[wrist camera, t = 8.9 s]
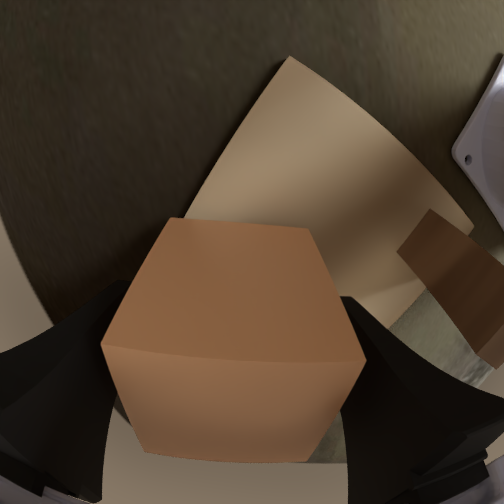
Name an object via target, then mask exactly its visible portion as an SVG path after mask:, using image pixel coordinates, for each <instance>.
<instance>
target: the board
mask: <svg viewBox="0 0 504 504" xmlns="http://www.w3.org/2000/svg"><path fill="white" fill-rule="evenodd" d="M429 209H432V210H433V211H434V212H436V213H437V214H439V215H440V216H441V217H443V218H444V219H446V220H447V221H448V222H450V223H451V224H452V225H454V226H455V227H457V228H458V229H459V230H460V231H462V232H463V233H464V234H466V235H467V236H468V235H469V234H470V232H471V231H472V229H473V228H474V227H475V226H474V225H473V223H472V222H471V221H470V219H469V218H468V217H467V215H466V214H465V213H464V212H463V210H462V209H461V208H460V207H459V205H458V204H457V203H456V202H455V201H454V199H453V198H452V197H451V196H450V195H449V193H448V192H447V191H446V190H445V189H444V188H443V186H442V185H441V184H440V183H439V182H438V181H437V180H436V179H435V177H434V176H433V175H432V174H431V173H430V172H429V171H428V170H427V169H426V168H425V167H424V166H423V165H422V164H421V162H420V161H419V160H418V159H417V158H416V157H415V156H414V155H413V154H412V153H411V152H410V151H409V150H408V149H407V148H406V147H405V146H404V145H403V144H402V143H400V142H399V141H398V140H397V139H396V138H395V137H394V136H393V135H392V134H391V133H390V132H389V131H388V130H387V129H385V128H384V127H383V126H382V125H381V124H380V123H379V122H378V121H376V120H375V119H374V118H373V117H372V116H371V115H369V114H368V113H367V112H366V111H365V110H363V109H362V108H361V107H360V106H359V105H357V104H356V103H355V102H354V101H352V100H351V99H350V98H349V97H347V96H346V95H345V94H344V93H342V92H341V91H340V90H338V89H337V88H336V87H334V86H333V85H332V84H330V83H329V82H328V81H326V80H325V79H323V78H322V77H321V76H319V75H318V74H316V73H315V72H313V71H312V70H310V69H309V68H308V67H306V66H305V65H303V64H302V63H300V62H298V61H297V60H295V59H294V58H292V57H291V56H289V57H288V58H287V59H286V60H285V62H284V63H283V65H282V66H281V67H280V69H279V70H278V71H277V73H276V74H275V75H274V77H273V78H272V80H271V81H270V82H269V84H268V85H267V87H266V88H265V90H264V91H263V92H262V94H261V95H260V97H259V98H258V100H257V101H256V102H255V104H254V105H253V107H252V108H251V110H250V111H249V113H248V114H247V116H246V117H245V119H244V120H243V122H242V123H241V125H240V126H239V128H238V129H237V131H236V132H235V134H234V136H233V137H232V139H231V140H230V142H229V143H228V145H227V146H226V148H225V150H224V151H223V153H222V154H221V156H220V158H219V159H218V161H217V162H216V164H215V166H214V167H213V169H212V171H211V172H210V174H209V175H208V177H207V179H206V180H205V182H204V184H203V185H202V187H201V189H200V191H199V192H198V194H197V196H196V197H195V199H194V201H193V203H192V204H191V206H190V208H189V210H188V211H187V213H186V215H185V217H184V218H185V219H200V220H214V221H227V222H240V223H252V224H264V225H275V226H287V227H298V228H308V229H309V231H310V233H311V235H312V238H313V240H314V242H315V244H316V246H317V248H318V250H319V252H320V254H321V257H322V259H323V261H324V263H325V265H326V267H327V269H328V272H329V274H330V276H331V278H332V280H333V283H334V285H335V287H336V289H337V292H338V294H339V296H351V297H353V298H354V299H355V300H356V301H357V302H358V303H360V304H361V305H362V306H363V307H364V308H365V309H366V310H367V311H368V312H369V313H370V314H372V315H373V316H374V317H375V318H376V319H377V320H378V321H379V322H380V323H381V324H382V325H383V326H384V327H386V328H387V329H388V328H389V327H390V326H391V325H392V324H393V323H394V322H395V321H396V320H397V319H398V318H399V317H400V316H401V315H402V314H403V313H404V312H405V311H406V310H407V309H408V308H409V307H410V305H411V304H412V303H413V302H414V301H415V300H416V299H417V298H418V297H419V296H420V294H421V293H422V292H423V291H424V290H425V289H426V286H425V285H424V284H423V283H422V281H421V280H420V279H419V278H418V277H417V275H416V274H415V273H414V272H413V271H412V269H411V268H410V267H409V266H408V265H407V264H406V262H405V261H404V260H403V259H402V258H401V257H400V256H399V254H398V253H397V252H396V251H397V250H398V249H399V248H400V246H401V245H402V244H403V243H404V241H405V240H406V239H407V238H408V236H409V235H410V234H411V233H412V231H413V230H414V229H415V227H416V226H417V225H418V223H419V222H420V221H421V219H422V218H423V217H424V215H425V214H426V213H427V211H428V210H429Z"/></svg>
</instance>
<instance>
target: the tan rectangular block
mask: <svg viewBox="0 0 504 504" xmlns="http://www.w3.org/2000/svg"><path fill="white" fill-rule="evenodd" d="M101 347H102V350H103V353H104V356H105V359H106V362H107V365H108V367H109V370H110V373H111V376H112V379H113V381H114V384H115V387H116V389H117V392H118V394H119V397H120V399H121V402H122V404H123V406H124V409H125V411H126V413H127V416H128V418H129V420H130V423H131V425H132V427H133V429H134V431H135V433H136V436H137V438H138V440H139V442H140V444H141V446H142V448H143V450H144V452H147V453H153V454H159V455H165V456H171V457H179V458H186V459H195V460H206V461H218V462H219V461H220V462H239V463H283V462H302V461H307V460H308V458H309V457H310V456H311V454H312V453H313V451H314V450H315V448H316V447H317V445H318V444H319V442H320V441H321V439H322V438H323V436H324V435H325V433H326V431H327V430H328V428H329V427H330V425H331V424H332V422H333V420H334V419H335V417H336V415H337V414H338V412H339V410H340V409H341V407H342V405H343V403H344V402H345V400H346V398H347V396H348V395H349V393H350V391H351V389H352V387H353V386H354V384H355V382H356V380H357V378H358V376H359V374H360V373H361V371H362V369H363V367H364V365H365V363H366V358H365V356H364V353H363V351H362V348H361V346H360V343H359V341H358V338H357V336H356V334H355V331H354V329H353V326H352V324H351V322H350V319H349V317H348V315H347V312H346V310H345V308H344V305H343V303H342V301H341V298H340V296H339V294H338V292H337V289H336V287H335V285H334V283H333V280H332V278H331V276H330V274H329V272H328V269H327V267H326V265H325V263H324V261H323V259H322V257H321V254H320V252H319V250H318V248H317V246H316V244H315V242H314V240H313V238H312V235H311V233H310V231H309V229H308V228H298V227H287V226H275V225H264V224H252V223H240V222H227V221H214V220H200V219H185V218H170V219H169V220H168V222H167V224H166V225H165V227H164V228H163V230H162V232H161V233H160V235H159V237H158V238H157V240H156V242H155V243H154V245H153V247H152V248H151V250H150V252H149V254H148V255H147V257H146V259H145V261H144V262H143V264H142V266H141V268H140V269H139V271H138V273H137V275H136V276H135V278H134V280H133V282H132V284H131V286H130V287H129V289H128V291H127V293H126V295H125V297H124V298H123V300H122V302H121V304H120V306H119V308H118V310H117V312H116V314H115V316H114V318H113V320H112V322H111V324H110V326H109V328H108V330H107V332H106V334H105V336H104V338H103V340H102V342H101Z"/></svg>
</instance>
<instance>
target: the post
mask: <svg viewBox="0 0 504 504" xmlns="http://www.w3.org/2000/svg"><path fill="white" fill-rule="evenodd" d="M396 252H397V253H398V254H399V256H400V257H401V258H402V259H403V260H404V261H405V262H406V264H407V265H408V266H409V267H410V268H411V269H412V271H413V272H414V273H415V274H416V275H417V277H418V278H419V279H420V280H421V281H422V283H423V284H424V285H425V286H426V288H427V289H428V290H429V291H430V293H431V294H432V295H433V296H434V298H435V299H436V300H437V301H438V303H439V304H440V305H441V307H442V308H443V309H444V310H445V312H446V313H447V314H448V316H449V317H450V318H451V320H452V321H453V322H454V324H455V325H456V326H457V328H458V329H459V331H460V332H461V333H462V335H463V336H464V338H465V339H466V340H467V342H468V343H469V345H470V346H471V348H472V349H473V351H474V352H475V354H476V355H478V356H479V357H480V358H482V359H483V360H484V361H486V362H487V363H488V364H490V365H491V366H492V367H494V368H495V369H497V368H499V367H500V366H501V365H502V364H503V362H504V266H503V265H502V264H501V263H500V262H499V261H498V260H496V259H495V258H494V257H493V256H492V255H491V254H489V253H488V252H487V251H486V250H485V249H483V248H482V247H481V246H480V245H478V244H477V243H476V242H475V241H473V240H472V239H471V238H470V237H468V236H467V235H466V234H464V233H463V232H462V231H460V230H459V229H458V228H457V227H455V226H454V225H452V224H451V223H450V222H448V221H447V220H446V219H444V218H443V217H441V216H440V215H439V214H437V213H436V212H434V211H433V210H432V209H429V210H428V211H427V213H426V214H425V215H424V217H423V218H422V219H421V221H420V222H419V223H418V225H417V226H416V227H415V229H414V230H413V231H412V233H411V234H410V235H409V236H408V238H407V239H406V240H405V241H404V243H403V244H402V245H401V246H400V248H399V249H398V250H397V251H396Z"/></svg>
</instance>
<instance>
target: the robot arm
mask: <svg viewBox="0 0 504 504" xmlns="http://www.w3.org/2000/svg"><path fill="white" fill-rule="evenodd" d="M466 156H467V161H466V163H465V157H466ZM452 157H453V159H454V160H455V161H456V163H457V164H458V165H459V166H460V168H461V169H462V170H463V172H464V173H465V174H466V176H467V177H468V178H469V180H470V181H471V182H472V184H473V185H474V186H475V188H476V189H477V191H478V192H479V193H480V195H481V196H482V198H483V199H484V201H485V202H486V204H487V205H488V207H489V208H490V210H491V211H492V213H493V214H494V216H495V218H496V219H497V221H498V222H499V224H500V226H501V227H502V229H503V231H504V55H503V57H502V59H501V61H500V63H499V66H498V68H497V70H496V71H495V73H494V75H493V77H492V79H491V81H490V83H489V85H488V87H487V89H486V91H485V92H484V94H483V96H482V98H481V100H480V101H479V103H478V105H477V107H476V108H475V110H474V112H473V114H472V115H471V117H470V119H469V120H468V122H467V124H466V125H465V127H464V129H463V130H462V132H461V133H460V135H459V137H458V138H457V140H456V141H455V143H454V144H453V147H452ZM131 284H132V281H122V280H117V281H116V282H114V283H113V284H111V285H110V286H108V287H107V288H106V289H104V290H103V291H102V292H100V293H99V294H98V295H96V296H95V297H94V298H92V299H91V300H90V301H88V302H87V303H86V304H84V305H83V306H82V307H80V308H79V309H78V310H76V311H75V312H73V313H72V314H71V315H69V316H68V317H66V318H65V319H63V320H62V321H61V322H59V323H58V324H56V325H55V326H53V327H51V328H50V329H48V330H46V331H45V332H43V333H41V334H40V335H38V336H36V337H34V338H33V339H30V340H29V341H26V342H24V343H22V344H20V345H18V346H16V347H14V348H12V349H10V350H7V351H5V352H2V353H0V504H90V503H97V502H99V501H100V500H102V476H103V464H104V454H105V447H106V440H107V434H108V428H109V423H110V418H111V414H112V409H113V405H114V402H115V398H116V395H117V393H118V392H117V389H116V387H115V384H114V381H113V379H112V376H111V373H110V370H109V367H108V365H107V362H106V359H105V356H104V353H103V350H102V347H101V342H102V340H103V338H104V336H105V334H106V332H107V330H108V328H109V326H110V324H111V322H112V320H113V318H114V316H115V314H116V312H117V310H118V308H119V306H120V304H121V302H122V300H123V298H124V297H125V295H126V293H127V291H128V289H129V287H130V286H131ZM340 298H341V301H342V303H343V305H344V308H345V310H346V312H347V315H348V317H349V319H350V322H351V324H352V326H353V329H354V331H355V334H356V336H357V338H358V341H359V343H360V346H361V348H362V351H363V353H364V356H365V358H366V363H365V365H364V367H363V369H362V371H361V373H360V374H359V376H358V378H357V380H356V382H355V384H354V386H353V387H352V389H351V391H350V393H349V395H348V396H347V398H346V400H345V402H344V403H343V405H342V407H341V409H340V412H341V417H342V422H343V429H344V436H345V444H346V454H347V465H348V466H347V468H348V504H504V455H502V456H501V457H499V458H497V459H495V460H494V461H492V462H491V463H489V464H488V465H485V463H484V459H486V458H487V457H488V454H487V452H486V448H487V447H488V446H489V445H490V444H491V443H493V442H494V441H495V440H496V439H497V438H498V437H499V436H500V435H501V434H502V433H503V432H504V398H502V397H499V396H496V395H493V394H490V393H487V392H485V391H482V390H479V389H477V388H475V387H473V386H470V385H468V384H466V383H464V382H462V381H460V380H458V379H456V378H454V377H452V376H451V375H449V374H447V373H445V372H444V371H442V370H440V369H439V368H437V367H435V366H434V365H432V364H431V363H429V362H428V361H427V360H425V359H424V358H422V357H421V356H419V355H418V354H417V353H415V352H414V351H413V350H411V349H410V348H409V347H408V346H406V345H405V344H404V343H403V342H402V341H400V340H399V339H398V338H397V337H396V336H395V335H393V334H392V333H391V332H390V331H389V330H388V329H387V328H386V327H384V326H383V325H382V324H381V323H380V322H379V321H378V320H377V319H376V318H375V317H374V316H373V315H372V314H370V313H369V312H368V311H367V310H366V309H365V308H364V307H363V306H362V305H361V304H360V303H358V302H357V301H356V300H355V299H354V298H353V297H351V296H340ZM68 495H70V496H72V497H70V496H68ZM73 497H75V498H73ZM76 498H79V499H82V500H84V501H88V502H90V503H87V502H84V501H81V500H78V499H76Z"/></svg>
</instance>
